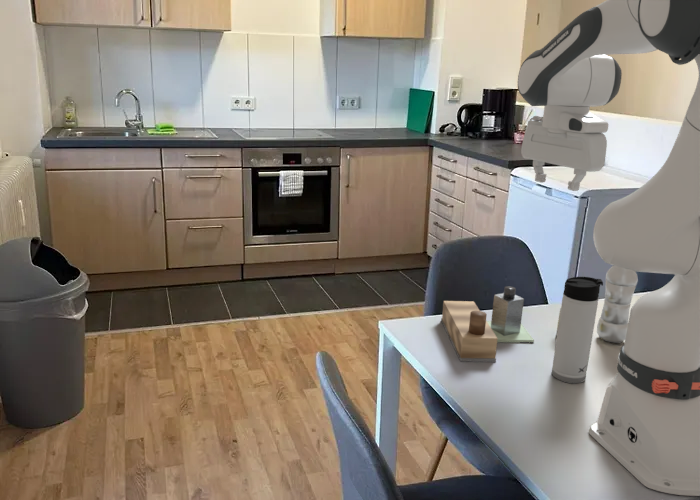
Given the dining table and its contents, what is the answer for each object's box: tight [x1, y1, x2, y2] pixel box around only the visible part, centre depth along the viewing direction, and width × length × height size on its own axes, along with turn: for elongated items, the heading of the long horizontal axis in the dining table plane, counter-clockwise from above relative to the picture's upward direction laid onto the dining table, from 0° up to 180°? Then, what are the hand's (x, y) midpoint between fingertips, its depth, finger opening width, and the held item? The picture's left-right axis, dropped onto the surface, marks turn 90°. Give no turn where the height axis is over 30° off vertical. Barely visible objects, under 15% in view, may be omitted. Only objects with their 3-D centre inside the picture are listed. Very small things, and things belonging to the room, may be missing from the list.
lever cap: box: [490, 285, 525, 336], centre depth 140 cm, size 4×4×10 cm
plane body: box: [440, 300, 498, 363], centre depth 136 cm, size 21×7×9 cm, turn 3°
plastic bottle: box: [596, 265, 639, 344], centre depth 137 cm, size 6×7×20 cm
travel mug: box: [551, 276, 604, 384], centre depth 120 cm, size 6×7×20 cm
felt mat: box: [486, 320, 535, 344], centre depth 142 cm, size 10×10×1 cm
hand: (556, 185), depth 135 cm, fingers open, 8 cm apart
